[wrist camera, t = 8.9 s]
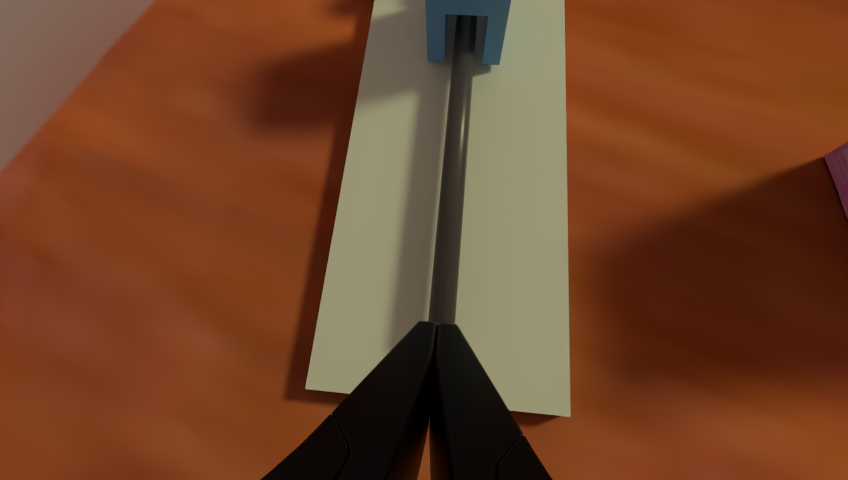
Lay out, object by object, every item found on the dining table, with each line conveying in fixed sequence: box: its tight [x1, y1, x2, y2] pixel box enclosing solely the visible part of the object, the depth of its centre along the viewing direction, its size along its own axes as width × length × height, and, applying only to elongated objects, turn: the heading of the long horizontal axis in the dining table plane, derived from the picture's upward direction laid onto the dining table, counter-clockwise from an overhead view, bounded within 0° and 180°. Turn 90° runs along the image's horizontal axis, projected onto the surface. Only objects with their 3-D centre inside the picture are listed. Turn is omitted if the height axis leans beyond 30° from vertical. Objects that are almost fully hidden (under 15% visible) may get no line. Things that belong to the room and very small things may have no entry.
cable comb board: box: [305, 0, 570, 417], centre depth 23 cm, size 30×12×6 cm, turn 174°
